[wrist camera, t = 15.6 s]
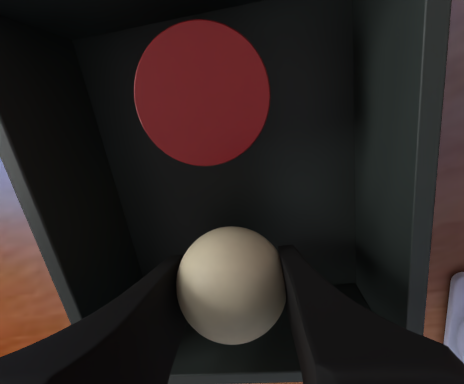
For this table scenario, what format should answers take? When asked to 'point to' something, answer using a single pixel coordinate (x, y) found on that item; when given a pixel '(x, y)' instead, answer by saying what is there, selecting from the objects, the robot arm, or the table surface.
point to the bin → (239, 169)
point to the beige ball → (231, 285)
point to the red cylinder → (202, 92)
